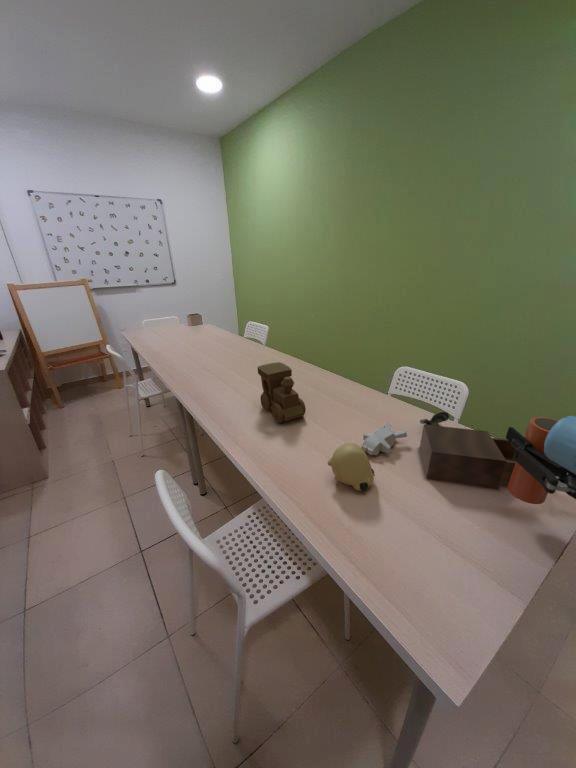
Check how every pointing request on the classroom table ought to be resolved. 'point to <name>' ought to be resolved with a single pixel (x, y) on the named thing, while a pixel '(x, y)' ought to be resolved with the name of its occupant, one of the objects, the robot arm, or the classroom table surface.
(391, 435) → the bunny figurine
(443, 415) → the eagle figurine
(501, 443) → the drawer
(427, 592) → the classroom table surface
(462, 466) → the cabinet
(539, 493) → the pencil holder
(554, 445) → the robot arm
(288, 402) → the wooden toy train
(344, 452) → the tan rounded lump
